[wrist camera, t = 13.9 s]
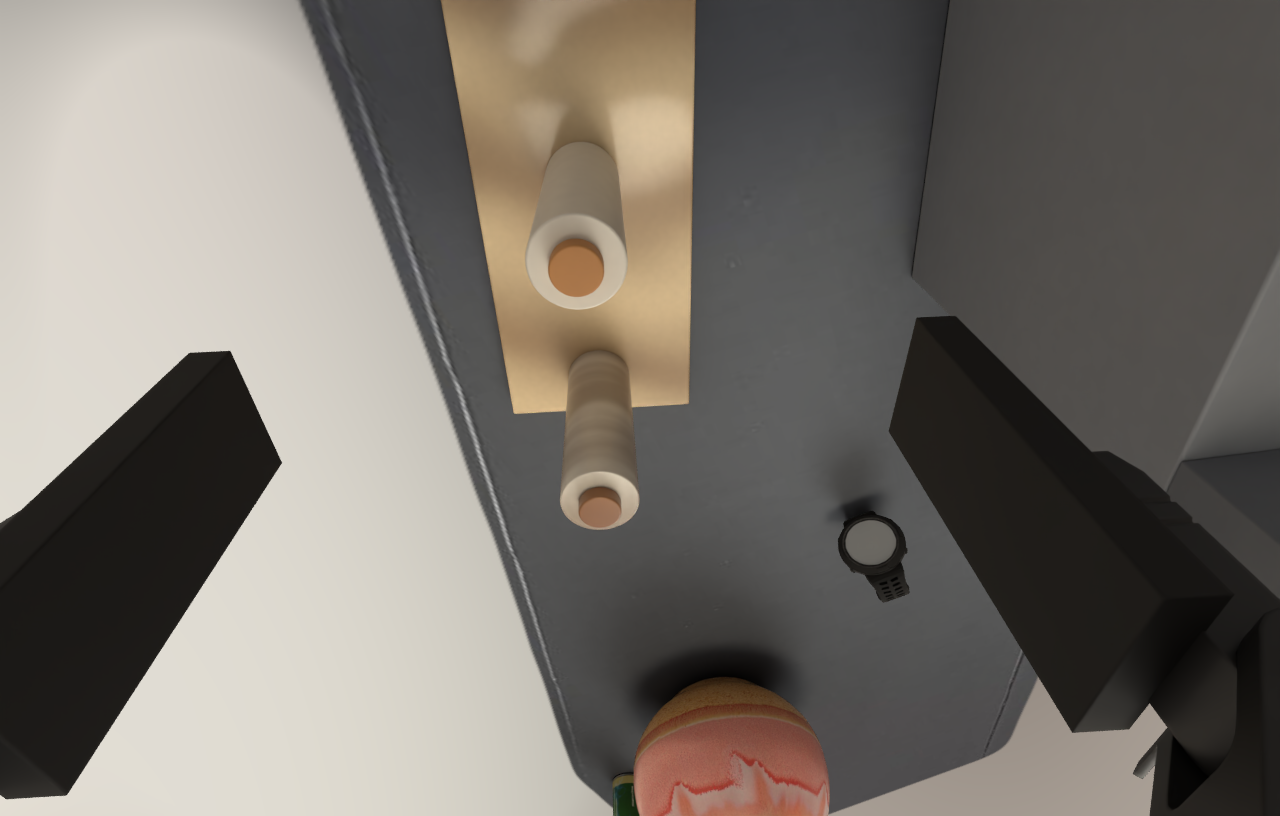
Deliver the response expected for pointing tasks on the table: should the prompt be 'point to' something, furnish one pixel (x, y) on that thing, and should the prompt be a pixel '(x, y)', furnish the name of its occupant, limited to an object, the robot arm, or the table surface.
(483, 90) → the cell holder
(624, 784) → the battery
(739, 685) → the vase
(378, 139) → the table surface
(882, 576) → the smartwatch
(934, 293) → the grey stand
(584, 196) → the white cell
